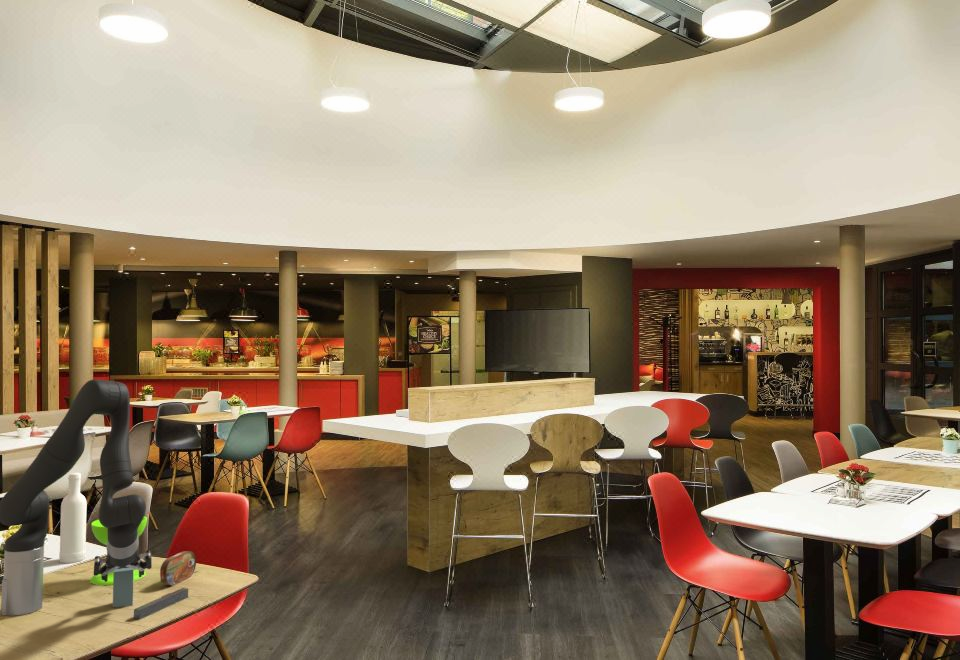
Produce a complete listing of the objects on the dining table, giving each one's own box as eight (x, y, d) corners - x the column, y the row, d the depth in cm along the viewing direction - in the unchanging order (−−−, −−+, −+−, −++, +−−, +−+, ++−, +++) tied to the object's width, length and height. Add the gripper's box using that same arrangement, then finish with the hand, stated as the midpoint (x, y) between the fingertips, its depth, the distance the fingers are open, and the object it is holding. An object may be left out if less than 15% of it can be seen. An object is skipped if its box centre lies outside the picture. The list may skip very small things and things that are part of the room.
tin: (166, 589, 206) (167, 561, 207) (157, 588, 207) (158, 560, 207) (196, 574, 221) (197, 547, 221) (188, 573, 222) (188, 547, 222)
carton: (112, 608, 191) (113, 572, 191) (113, 602, 195) (114, 567, 195) (132, 605, 193) (133, 569, 193) (133, 600, 197) (133, 565, 197)
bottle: (83, 555, 241) (85, 470, 242) (87, 560, 235) (89, 473, 236) (57, 559, 236) (59, 473, 237) (60, 565, 230) (63, 476, 231)
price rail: (139, 619, 182) (139, 610, 182) (131, 618, 183) (132, 608, 183) (188, 597, 199) (188, 588, 199) (180, 596, 200) (181, 587, 200)
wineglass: (107, 589, 206) (109, 529, 207) (79, 580, 214) (80, 522, 215) (156, 574, 220) (157, 519, 220) (128, 566, 228) (129, 513, 229)
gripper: (152, 530, 187) (151, 561, 197) (93, 536, 181) (95, 567, 191) (152, 554, 182) (151, 585, 192) (91, 561, 176) (93, 592, 186)
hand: (123, 576), depth 191 cm, fingers open, 8 cm apart
